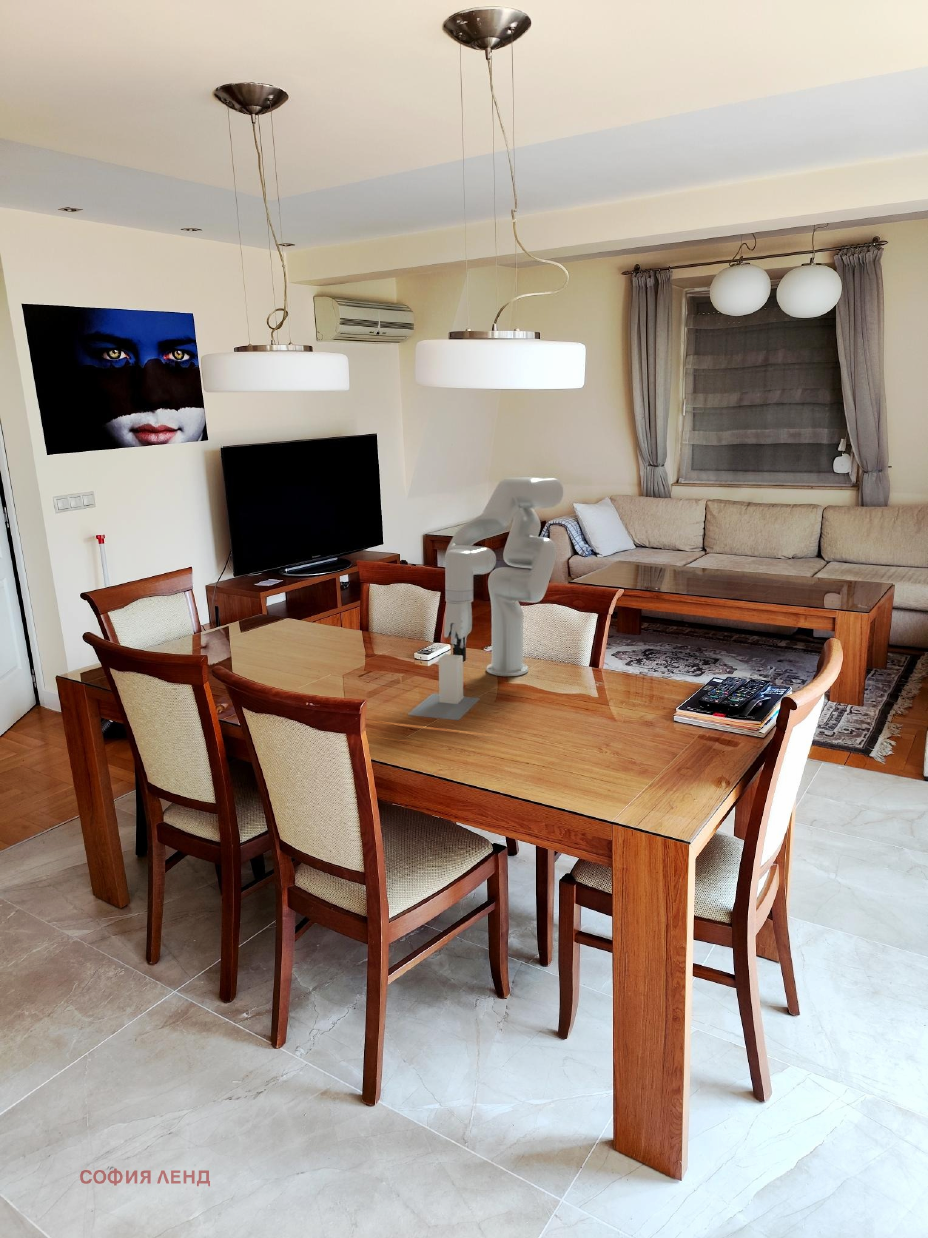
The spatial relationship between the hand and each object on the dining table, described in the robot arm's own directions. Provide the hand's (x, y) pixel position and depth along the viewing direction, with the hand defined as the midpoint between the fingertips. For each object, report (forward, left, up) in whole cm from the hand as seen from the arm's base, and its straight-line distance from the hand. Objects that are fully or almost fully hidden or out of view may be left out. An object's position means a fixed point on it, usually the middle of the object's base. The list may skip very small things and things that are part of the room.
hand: (459, 661), depth 232 cm
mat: (+12, 0, -10) cm, 15 cm away
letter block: (+7, 0, -9) cm, 11 cm away
